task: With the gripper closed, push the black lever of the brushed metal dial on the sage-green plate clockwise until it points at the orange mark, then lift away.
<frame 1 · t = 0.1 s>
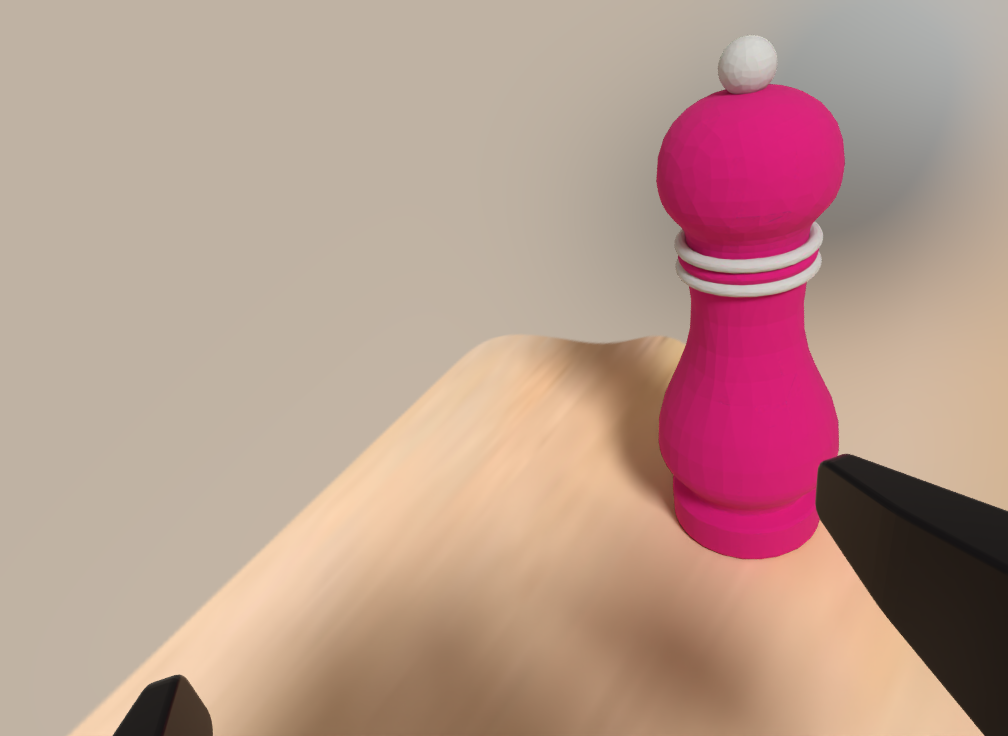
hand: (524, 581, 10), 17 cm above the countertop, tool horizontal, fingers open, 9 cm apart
pepper mill: (744, 511, 32), on the countertop
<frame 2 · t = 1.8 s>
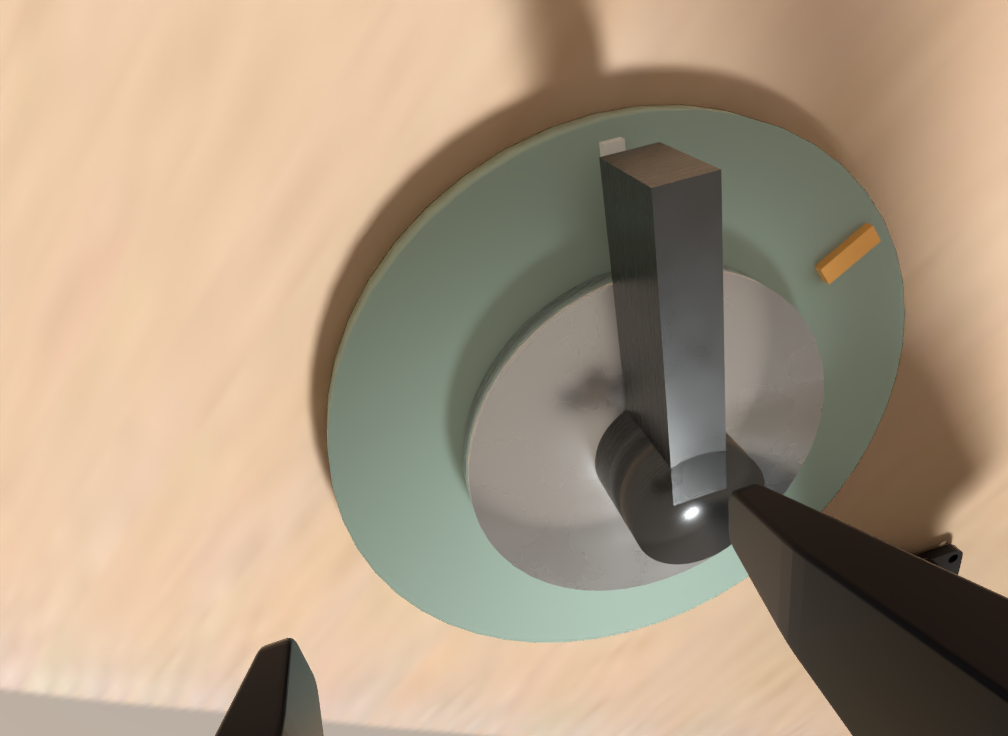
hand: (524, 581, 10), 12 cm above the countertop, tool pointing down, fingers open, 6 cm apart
dial plate: (625, 411, 24), on the countertop
dial: (665, 422, 20), point 3 cm above the countertop, hinge at 0.0°
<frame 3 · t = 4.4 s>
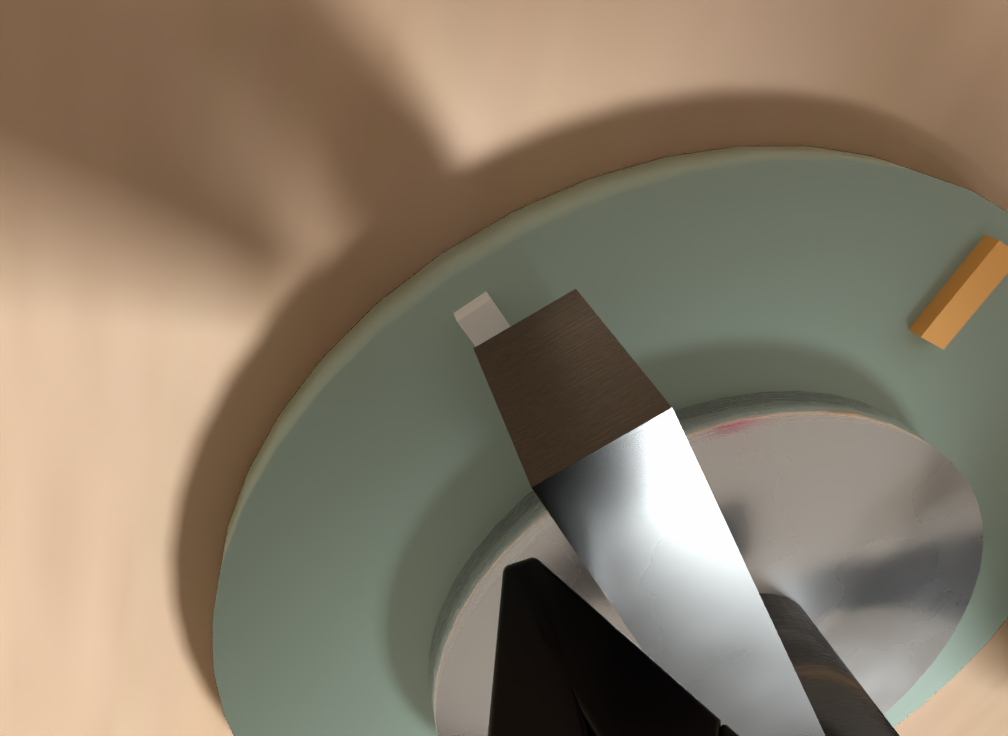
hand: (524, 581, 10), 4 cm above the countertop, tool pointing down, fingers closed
dial plate: (674, 581, 16), on the countertop
dial: (722, 662, 13), point 3 cm above the countertop, hinge at -3.5°, touching gripper
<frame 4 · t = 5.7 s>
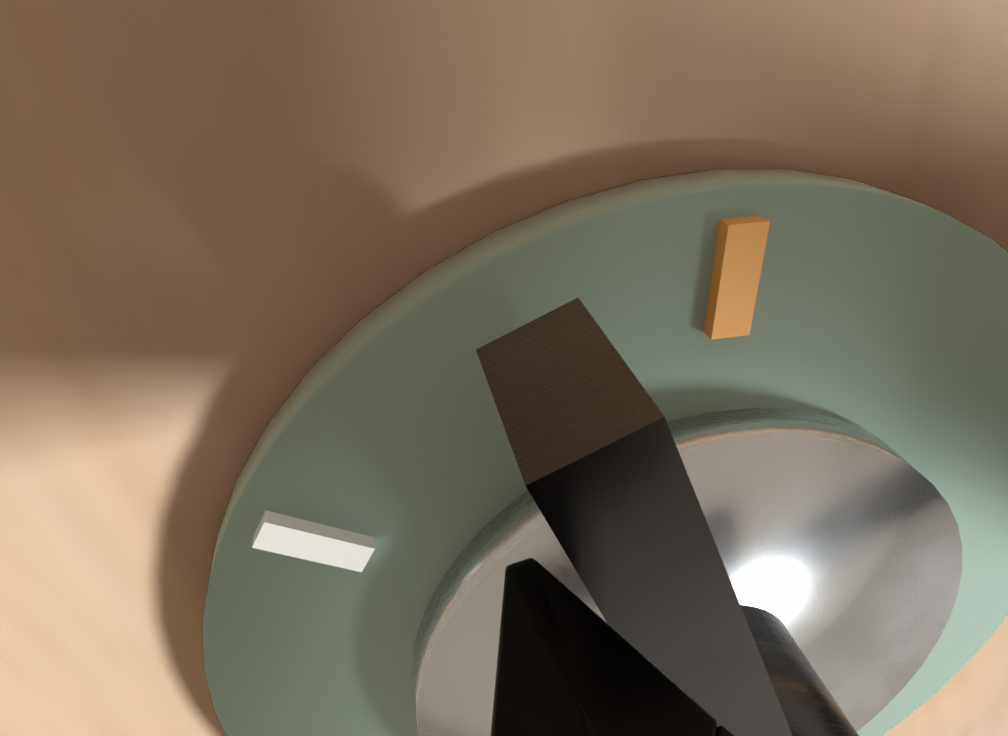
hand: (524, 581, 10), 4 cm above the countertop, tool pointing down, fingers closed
dial plate: (658, 589, 17), on the countertop
dial: (700, 670, 13), point 3 cm above the countertop, hinge at -36.6°, touching gripper
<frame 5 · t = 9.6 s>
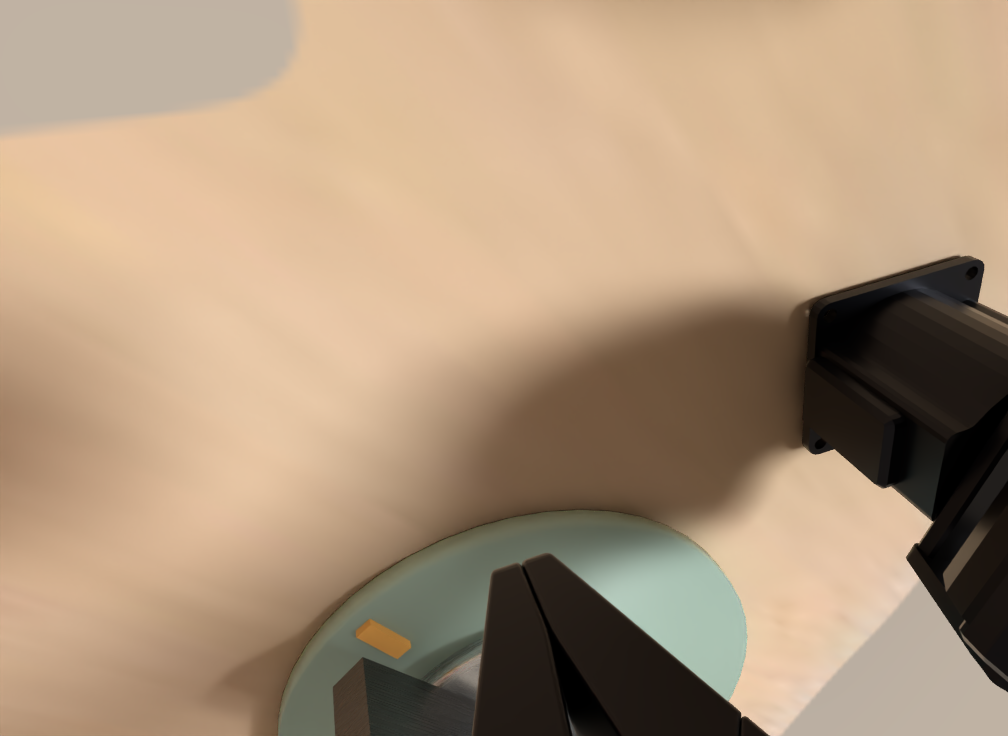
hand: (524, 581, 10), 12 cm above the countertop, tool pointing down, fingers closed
dial plate: (522, 694, 30), on the countertop
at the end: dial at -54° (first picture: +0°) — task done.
